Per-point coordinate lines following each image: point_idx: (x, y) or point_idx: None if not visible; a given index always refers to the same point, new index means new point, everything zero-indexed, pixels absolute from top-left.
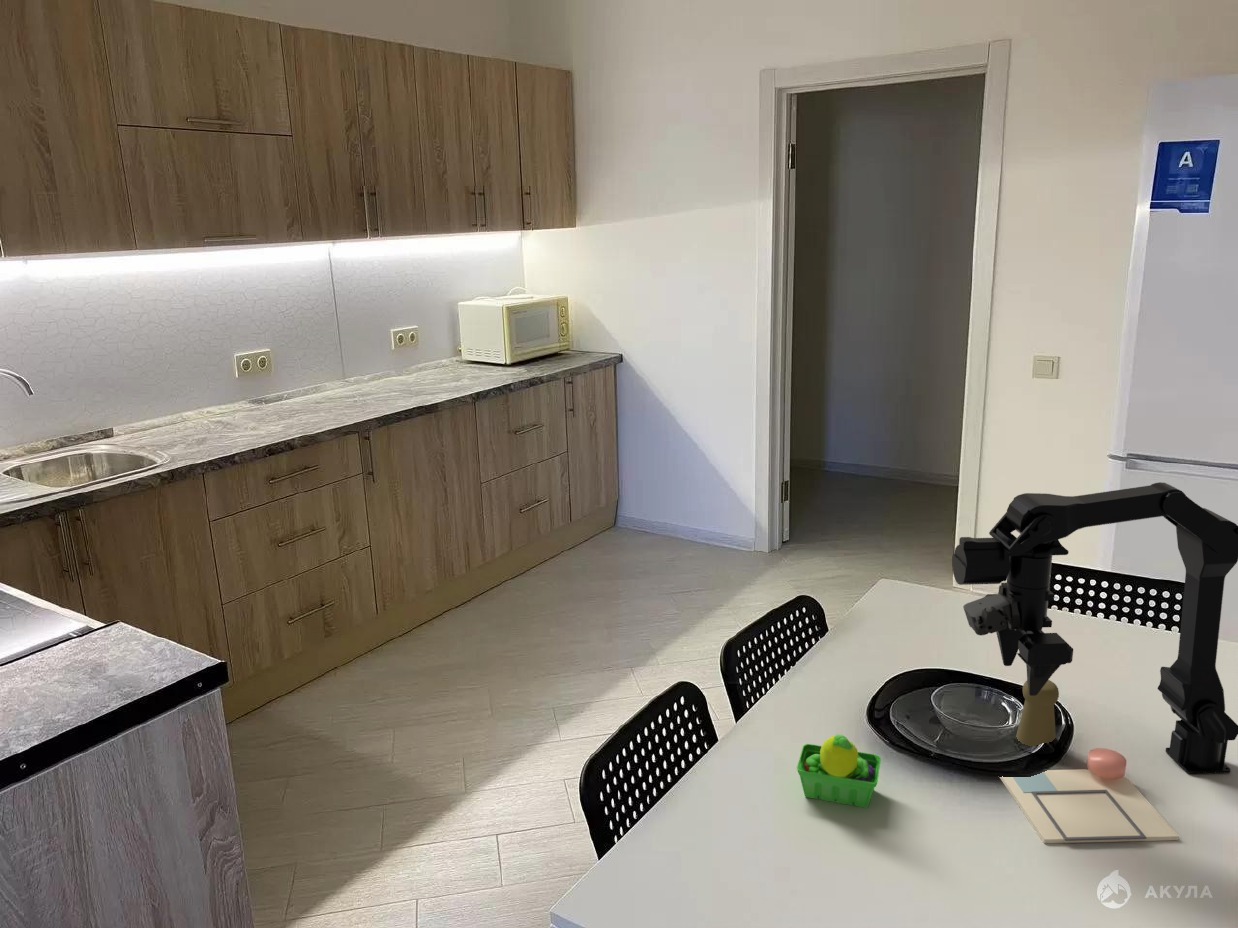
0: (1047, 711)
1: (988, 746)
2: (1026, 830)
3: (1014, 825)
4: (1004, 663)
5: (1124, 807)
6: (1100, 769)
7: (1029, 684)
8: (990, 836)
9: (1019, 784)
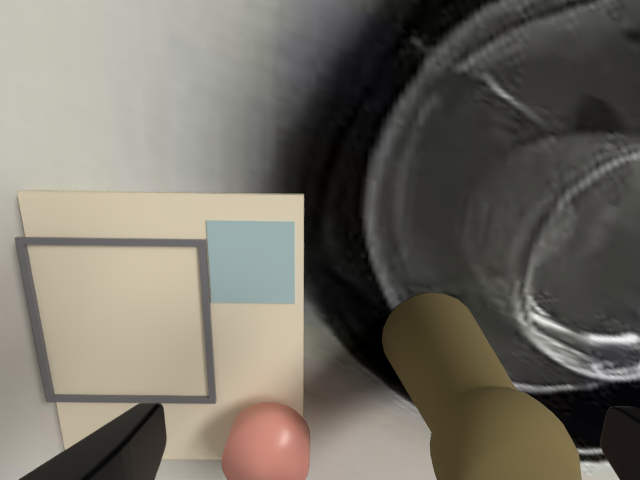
0: (428, 421)
1: (436, 221)
2: (71, 170)
3: (89, 148)
4: (625, 416)
5: None
6: (237, 426)
7: (39, 470)
8: (36, 68)
9: (239, 224)
